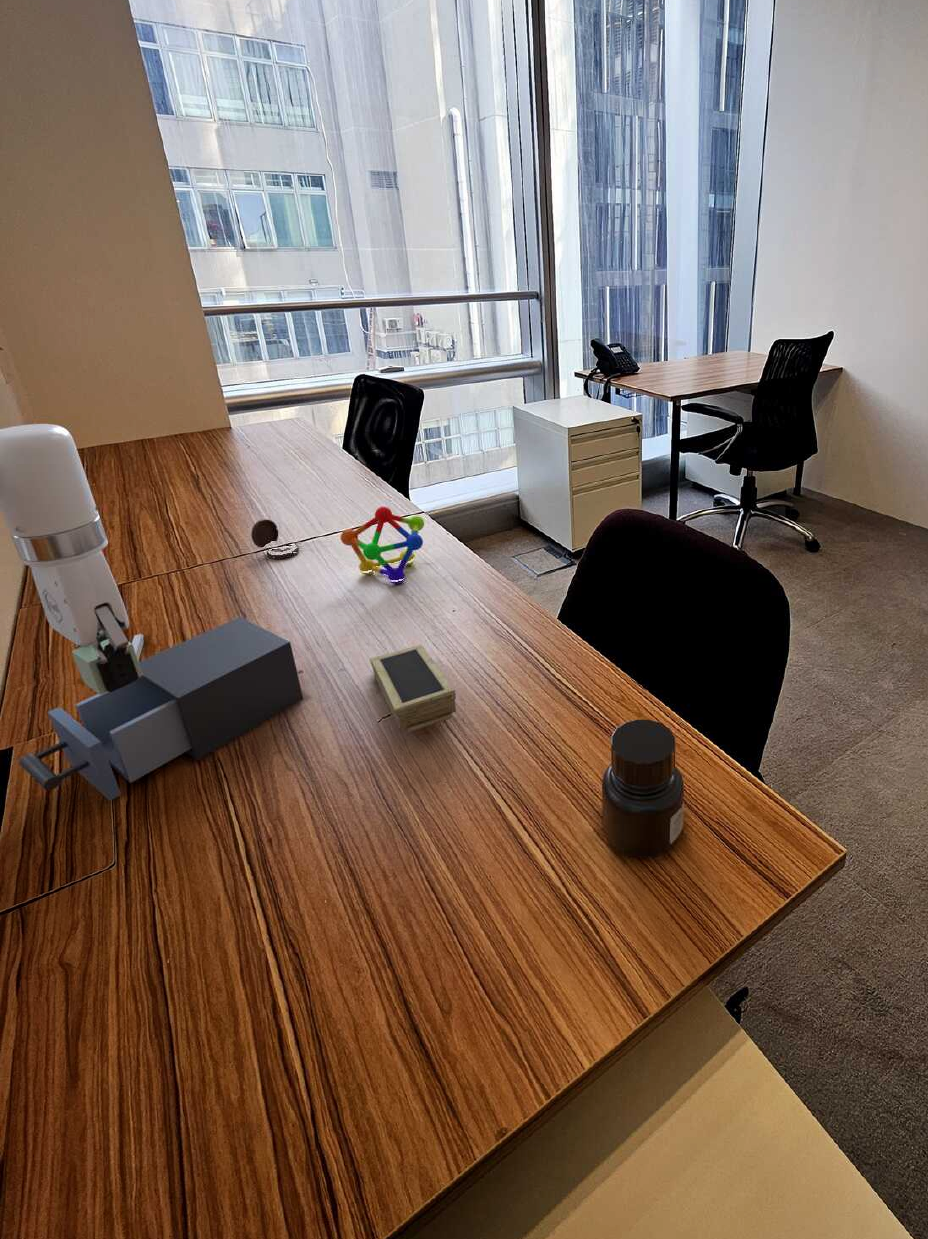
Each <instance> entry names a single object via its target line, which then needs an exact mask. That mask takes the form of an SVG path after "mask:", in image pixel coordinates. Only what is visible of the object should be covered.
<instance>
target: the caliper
mask: <svg viewBox="0 0 928 1239" xmlns="http://www.w3.org/2000/svg"><path fill="white" fill-rule="evenodd" d="M144 637H145V636H144V635H143V634H142V633H139V634H135V635H134V636H133V638H132V641H131V644H133V647H134V650H135V653H136V656H137V659H138V662H139V661H140V658H141V654H142V650H143V647H144V644H145V641H144Z"/></svg>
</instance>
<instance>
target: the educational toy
mask: <svg viewBox="0 0 928 1239" xmlns="http://www.w3.org/2000/svg"><path fill="white" fill-rule="evenodd" d="M398 522H399V523H403V524H406V525H407V526H408V528H409V529H410V530H411V531H410V533H409V532H408V531H407V530H406V529H405V528H403V526H401V525H400V524H399V523H398ZM386 523H388V524H389V526H391V527H392V528H393V529H395V531H397V532H398V533H399V534H400V535H402V537H403V538H404V539H405V541H400V542H397V543H391V544H387V545H383V546H380V545H379V541H380V539H381V538H380V537H381V534H382V531H383V528H384V525H385V524H386ZM375 524H377V525H376V528H375V532H374V534H373V537H372V541H371V542H370V543H367V544H366V543H365V542H363V541H361V540H360V539H359V535H361V534H362V533H364V532H365V531H366V530H368V529H369V528H371V527H372V526H374V525H375ZM424 527H425V521H424V519H423V517H421V516H419V515H412V516H411V517H410V518H407V517H403V516H400V515H396V514H393V513H392V510H391V509H390V508H389V507H387V506H380V507H378V508H377V509H376V510H375V512H374V517H373V518H372V519H370V520H369V521H366V523H364V524H362V525H361V526H360V527H358V528H356V529H355V530H354V529H351V528H348V529H345V530H343V531H342V532H341V535H340V541H341V543H342V544H344V545H345V546H350V547H351V548H352V549H353V551H354V553H355V555H356V556H357V558H358V560H359V561H360V563H359V565H358V569H360V570H361V571H368V570H372V572H369V573H362V572H361V571H360V570H359V571H360V573H361V574H363V575H365V576H369V575H372V574H374V573H376V572H378V573H377V574H379V573H381V574H380V575H383V574H386V575H388V576H387V579H388V580H389V579H390V580H399V579H403V578H404V576H405V577H406V574H405V571H404V569H405V568H406V566H411V565H413V564H414V563H415V561H416V559H415V560H414V561H413V562H411V563H407V562H408V561H410V560H411V559H413V558H414V557H415V558H416V555H415V553H414V551H418V550H420V549H421V548H422V546H423V544H424V540H423V537H422V536H421V535H419V531H421V530H423V528H424ZM402 548H406V550H403V551H402V552H400V554H399V556H398V557H394V558H389V559H385V558H384V557H382V556H381V554H382V553H385V552H390V551H394V550H398V549H402ZM361 549H362V550H361ZM374 560H376V562H375V561H374ZM400 560H401V562H399V563H398V566H397V567H393V566H391V564H390V565H389V564H388V563H394V562H397V561H400ZM406 563H407V564H406ZM394 564H395V563H394ZM380 565H382V566H381V567H383V568H381V567H376V566H380ZM405 565H406V566H405ZM404 567H405V568H404ZM373 571H375V572H373ZM386 575H385V576H386ZM404 580H405V578H404V579H403V580H402V581H398V582H391V581H389V582H390V583H391V584H394V585H399V584H401V583H403V582H404Z"/></svg>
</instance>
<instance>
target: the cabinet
mask: <svg viewBox="0 0 928 1239" xmlns="http://www.w3.org/2000/svg"><path fill="white" fill-rule="evenodd" d="M139 664H140V667H141V670H142V673H143V676H141V678H142V679H144V680H145V681H147V682H148V683H150V684H151V685H153V686H154V687H156V688H157V689H159V690H160V691H162V692H163V693H165V694H166V695H168V696H169V697H170V698H172V699H173V700H175V701H176V702H177V705H178V708H179V711H180V715H181V718H182V721H183V724H184V727H185V730H186V733H187V736H188V739H189V743H190V746H191V749H189V750H188V751H186V752H185V753H187V754H188V755H189V756H191V757H192V758H194V759H195V760H196V761H199V760H201V759H203V758H204V757H206V756H208V755H210V754H211V753H213V752H215V751H216V750H218V749H220V748H221V747H223V746H225V745H227V744H229V743H230V742H232V741H233V740H235V739H237V738H239V737H241V736H242V735H244V734H245V733H248V732H249V731H251V730H253V729H254V728H256V727H258V726H259V725H261V724H262V723H264V722H266V721H268V720H269V719H271V718H273V717H274V716H276V715H278V714H280V713H282V712H283V711H285V710H286V709H288V708H290V707H291V706H293V705H295V704H297V703H299V702H300V701H302V700H303V699H304V696H303V691H302V687H301V682H300V678H299V675H298V670H297V666H296V665H297V664H296V660H295V656H294V653H293V648H292V643H291V641H289V640H288V639H285V638H283V637H282V636H279V635H277V634H276V633H273V632H272V631H270V630H268V629H265V628H263V627H261V626H260V625H257V624H255V623H254V622H251V621H249V620H247V619H245V618H243V617H242V616H239V617H236V618H235V619H231V620H229V621H227V622H226V623H223V624H221V625H218V626H216V627H213V628H212V629H209V630H207V631H205V632H203V633H200V634H198V635H195V636H193V637H191V638H189V639H187V640H184V641H183V642H179V643H178V644H176V645H173V646H171V647H168V648H167V649H164V650H161V651H160V652H157V653H155V654H153V655H150V656H148V657H146V658H143V659H141V660H139Z"/></svg>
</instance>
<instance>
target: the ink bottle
mask: <svg viewBox="0 0 928 1239" xmlns="http://www.w3.org/2000/svg"><path fill="white" fill-rule="evenodd" d="M676 746H677V743H676V736H675V734H673V732H672V731H671V728H670V727H668V726H666V725H664V724H663V723H661V722H660V721H655V720H651V719H649V718H648V719H647V718H646V719H638V718H636V719H634V720H630V721H625V722H624V723H622V724H621V725H619V726H618V727H616V729H615V730H614V732H613V733H612V735H611V737H610V764H609V765H608V766H607V767H606V769H605V770H604V773H603V776H602V780H601V809H602V810H601V811H602V812H601V814H602V829H603V832H604V835H605V838H606V839H607V840H608V842H609V843H610V845H611V846H612V847H613V848H614V849H616V850H617V851H618V852H620V853H621V854H624V855H626V856H629V857H632V858H651V857H656V856H659V855H662V854H664V853H667V852H668V851H669V850H671V849H672V848H673V847H675V845H676V844H677V843H678V842H679V840H680V839H681V836H682V833H683V827H684V826H683V825H684V808H685V807H684V806H685V804H684V802H685V784H684V779H683V776H682V774H681V771H680V770H679V768H678V767H677V765H676V754H677V753H676V750H677V749H676V748H677V747H676Z"/></svg>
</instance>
